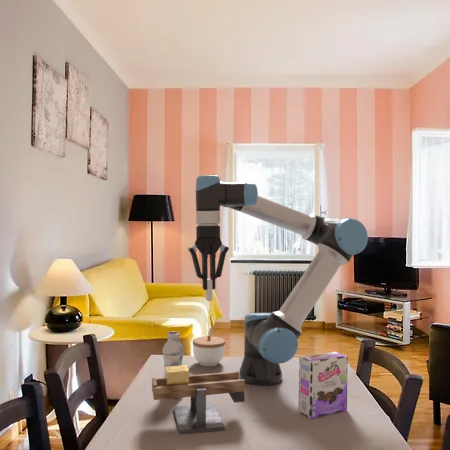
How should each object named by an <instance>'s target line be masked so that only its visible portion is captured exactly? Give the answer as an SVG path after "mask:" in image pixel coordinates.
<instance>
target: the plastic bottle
mask: <svg viewBox="0 0 450 450" xmlns="http://www.w3.org/2000/svg"><path fill="white" fill-rule="evenodd" d="M166 339H167V341H166V342H165V343H164V344H163V345H164V346H163V347H162V355H163V362H164V368H165V367H169V366H182V365H183V357H184V347H183V345H182V343H181V341H180V332H179V331H168V332H167V337H166ZM163 378H165V372H164V374H163Z"/></svg>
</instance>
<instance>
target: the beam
mask: <svg viewBox="0 0 450 450" xmlns="http://www.w3.org/2000/svg"><path fill="white" fill-rule="evenodd" d="M203 388H205V389H206V396H210V395H211V396H212V395H221V394H223V395H224V394H228V395H229V396H230V398H231V400H232V401H233V403H244V402H245V401H246V400H245V399H246V395H245V393H246V383H245V380H244V379H241V380H240V378H239V371H224V372H217V373H216V372H214V373H213V372H212V373H202V374H189V384H184V385H173V386H166V384H165V378H164V377H152V378H151V390H152V397H153V401H159V400H169V399H179V398H180V399H182V398H191V397H192V396H197V389H203Z"/></svg>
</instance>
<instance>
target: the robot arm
mask: <svg viewBox="0 0 450 450" xmlns="http://www.w3.org/2000/svg"><path fill="white" fill-rule="evenodd" d="M220 179H221V178H220V176H219V175H216V174H215V175H212V174H211V175H209V174H208V175H207V174H205V175H199V176H197V177H196V181H195V190H194V191H195V210H196V211H195V213H196V214H195V219H196V220H195V224H197V225H196V227H195V228H196V229H195V230H196V231H195V234H196V235H195V236H196V237H195V238H196V240H195V242H194V245H192V246H190V247H188V248H187V251H188V252H189V253H190V256H191V260H192V263H193V267H194V268H193V269H194V270H195V271H194V272H195V275H196V277H197V278H199V279H201V280H202V289H203V291H205V300H206V301H207V302H209V301H210V302H212V301H213V290H216V279H217V278H221V277H222V273H223V269H224V264H225V259H226V255H227V254H228V251H229V249H230V247H229V246H226V245H224V243H223V241H222V240H221V226H220V224H221V207H223V208H229V209H232V210H234V211H236V212H237V211H238V212H240V213H243V214H246V215H248V216H251V217H254V218H256V219H258V220H260V221H263V222H266V223H269V224H272V225H274V226H276V227H279V228H282V229H284V230H286V231H290V232H292V233H295V234H297V235H300V236H301V238H302V239H303V240H305V241H308V242H309V243H312V244H314V245H317V250H318V251H317V253H316V255H315V256H314V257H313V259H312V260H311V262H310V263H309V264H308V266H307V268H306V269H305V271H304V272H303V274H301V275H302V276H301V277H300V278H299V280H298V282H297V283H296V284H295V286H294V287H293V288H292V291H291V292H290V293H289V295H288V296H287V298H286V299H285V301H284V303H282V305H281V306H280V308H279V310H276V311H272V312H252V313H247V314H246V315H245V316H244V322H243V326H244V338H243V339H244V341H243V342H244V347H243V348H244V354H243V359H242V362H241V365H240V369H239V371H238V372H239V378H240V380H241V379H244V380H245V384H248V385H253V386H272V385H276V384H280V382H282V380H283V371H282V369H281V364H285V363H287V362H289V361H290V360H292V359H293V358H294V357H295V355H296V354H297V351H298V350H299V349H298V348H299V341H298V340H299V338H300V337H301V336H302V333H303V331H302V325H303V323H304V322H305V320H306V319H307V317H308V316H309V314H310V313H311V311H312V310H313V308H314V307H315V305H316V304H317V302H318V301H319V299H320V298H321V296H322V295H323V293H324V292H325V290H326V289H327V287H328V285H329V284H330V282H331V281H332V279H333V278H334V277H335V275H336V273H337V272H338V271H339V269H340V267H341V266H344V265H347V264H349V262H350V261H351V260H352V259H353V256H354V255H357V254H360V253H361V252H363V251H364V250H365V248H366V247H367V244H368V240H369V235H368V232H367V228H366V226H365V225H364V224H363V223H362V221H359V220H358V219H355V218H351V217H343V218H341V217H340V218H339V217H338V218H337V217H323V216H319V215H316V214H315V213H311V214H309V215H308V214H306V213H305V212H304V213H303V212H301V211H299V210H296V209H293V208H291V207H288V206H285V205H283V204H280V203H278V202H275V201H272V200H271V199H267V198H265V197H263V196H260V195H258V186H257V184H256V183H254V182H248V181H243V182H242V181H239V182H238V181H237V182H233V181H231V182H224V181H221V180H220ZM198 251H199V253H200V254H201V266H200V263H199V258H198V255H197V252H198ZM218 251H220V253H219V257H218V260H217V261H218V262H217V266H216V258H217V256H216V255H217V252H218ZM208 258H209V266H208ZM208 268H209V270H208ZM208 271H209V274H208ZM208 275H209V276H208ZM208 277H209V278H208Z"/></svg>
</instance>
